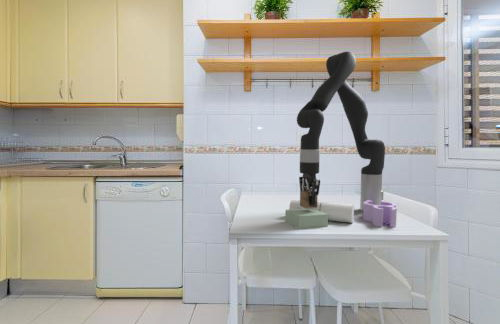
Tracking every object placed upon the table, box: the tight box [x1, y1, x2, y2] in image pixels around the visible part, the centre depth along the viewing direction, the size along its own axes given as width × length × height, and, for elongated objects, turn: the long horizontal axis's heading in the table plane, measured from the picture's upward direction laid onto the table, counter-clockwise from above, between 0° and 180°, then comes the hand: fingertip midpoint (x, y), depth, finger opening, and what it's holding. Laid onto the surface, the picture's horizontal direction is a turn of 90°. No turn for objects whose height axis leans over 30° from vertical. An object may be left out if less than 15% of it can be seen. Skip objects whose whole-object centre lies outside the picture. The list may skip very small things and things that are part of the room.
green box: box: [284, 209, 329, 230], centre depth 124 cm, size 12×12×5 cm
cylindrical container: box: [288, 199, 355, 224], centre depth 131 cm, size 7×7×25 cm
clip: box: [362, 200, 398, 228], centre depth 130 cm, size 20×12×7 cm, turn 170°
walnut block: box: [299, 190, 319, 208], centre depth 126 cm, size 5×5×6 cm
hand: (308, 204), depth 126 cm, fingers closed on walnut block, 5 cm apart
